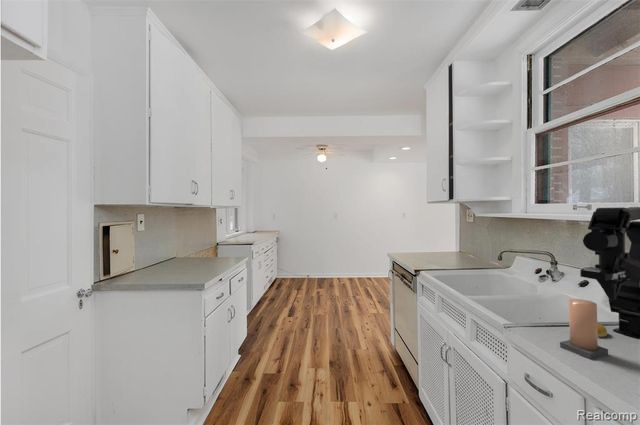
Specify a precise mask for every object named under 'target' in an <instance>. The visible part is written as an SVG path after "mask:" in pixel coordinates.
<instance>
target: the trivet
mask: <svg viewBox="0 0 640 425" xmlns="http://www.w3.org/2000/svg"><path fill="white" fill-rule="evenodd" d="M559 347H560V348H562V349H564V350H566V351H568V352H571V353H573V354H576V355H579V356H581V357H583V358H586V359H588V360H593V359H596V358H600V357H605V356H608V355H609V349H608V348H606V347H603V346H600V345H598V349H597V350H585V349H581V348H577V347H575V346H573V345H571V344H570V339H567V340H564V341H560V342H559Z"/></svg>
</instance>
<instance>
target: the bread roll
mask: <svg viewBox="0 0 640 425" xmlns="http://www.w3.org/2000/svg"><path fill="white" fill-rule="evenodd" d="M597 333H598V338H602V337H606V336H608V330H607V328H606V327H605V326H604V325H603V324H601V323H599V322H597Z"/></svg>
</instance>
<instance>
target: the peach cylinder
mask: <svg viewBox="0 0 640 425" xmlns="http://www.w3.org/2000/svg"><path fill="white" fill-rule="evenodd" d="M597 304H598V303H596V302H594V301H592V300H591V301H590V300H587V299H582V298H581V299H580V298H579V299H578V298H573V299H572V298H571V299H570V298H569V299H568V320H569V340H570V344H571V345H573V346H575V347H577V348H581V349H585V350H597V349H598V346H599V342H598V341H599V337H598V333H597V323H598V307H597V306H598V305H597Z"/></svg>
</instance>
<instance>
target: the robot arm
mask: <svg viewBox="0 0 640 425" xmlns="http://www.w3.org/2000/svg"><path fill="white" fill-rule="evenodd" d="M587 229H588V230H591V231H590V232H588V233H586V234H585V235H584V237H583V239H582V242H583V245H584V247H585V248H586V249H588V250H589V251H592V252H594V255H597V256H598V263H597V264H596V263H595V265H594V267H593V266H589V267H583V268H581V269H580V272H579V274H580V275H579V276H580V277H581V278H587V279H590V280H591V279H592V280H596V282H597V283H598V284H599V286H600V287H601V289H602V290H603V291H604V293H605V295H606V296H607V298H608V304H609V309H610V312H611V313H617V314H618V327H615V328H613V329H612V331H613V332H616V333H620V334H622V335H625V336H629V337H632V338H635V339H640V206H639V207H638V206H637V207H636V206H635V207H634V206H632V207H631V206H630V207H621V206H620V207H597V208H596V209H595V211H593V213H592V215H591V218H590V222H589V224H588V227H587ZM626 237H627V238H628V240H629V241H630V248H629V250H628V252H626Z"/></svg>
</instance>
